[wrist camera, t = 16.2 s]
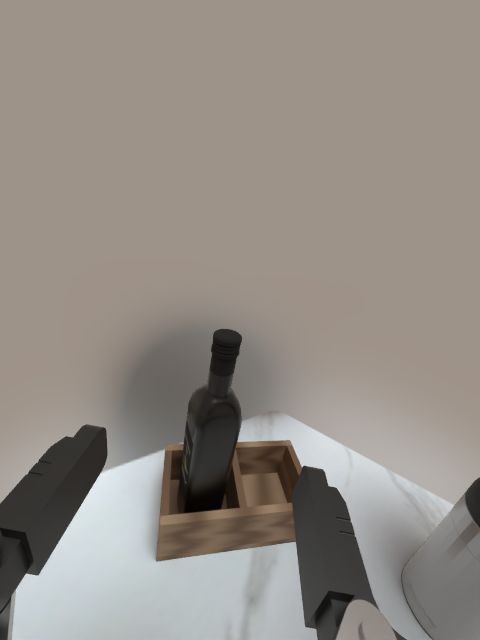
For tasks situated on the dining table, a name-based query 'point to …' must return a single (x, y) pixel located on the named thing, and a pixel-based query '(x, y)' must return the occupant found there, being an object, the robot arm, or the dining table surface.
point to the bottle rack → (233, 503)
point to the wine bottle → (211, 431)
